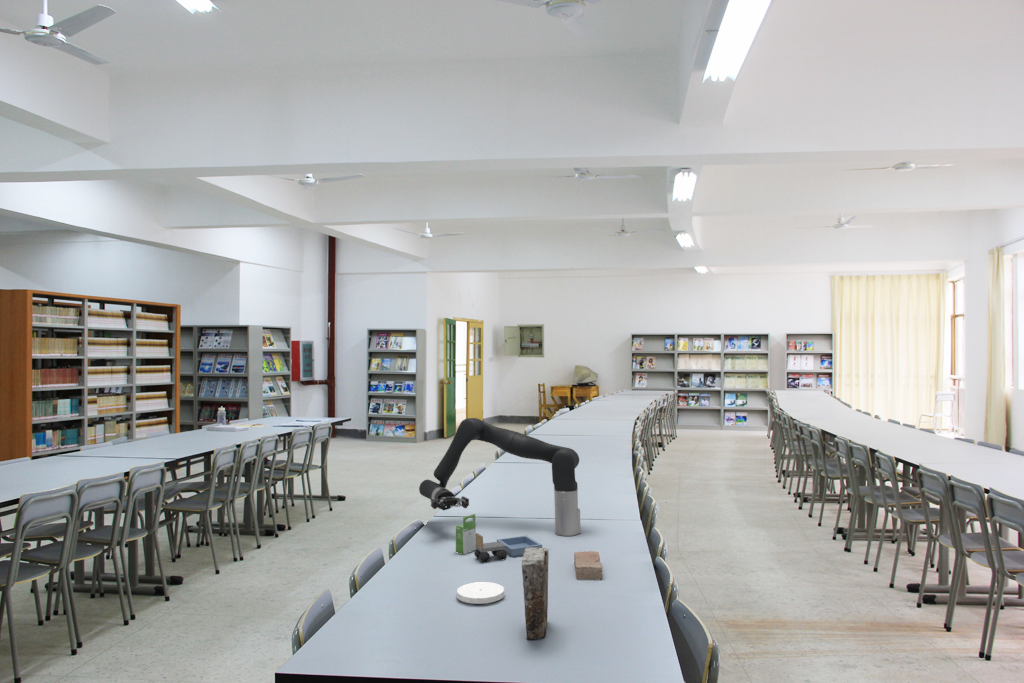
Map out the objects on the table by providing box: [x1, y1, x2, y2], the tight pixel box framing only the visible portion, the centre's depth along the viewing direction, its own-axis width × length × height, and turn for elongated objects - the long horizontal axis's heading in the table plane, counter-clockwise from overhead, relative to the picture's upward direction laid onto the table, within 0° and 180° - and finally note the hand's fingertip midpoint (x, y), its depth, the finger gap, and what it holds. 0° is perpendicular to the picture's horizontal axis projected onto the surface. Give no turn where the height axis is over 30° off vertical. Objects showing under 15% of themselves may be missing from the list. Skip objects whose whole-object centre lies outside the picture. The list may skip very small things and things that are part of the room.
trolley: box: [473, 532, 508, 563], centre depth 241 cm, size 10×6×9 cm, turn 112°
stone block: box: [521, 547, 549, 641], centre depth 179 cm, size 13×7×20 cm, turn 178°
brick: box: [573, 550, 603, 581], centre depth 226 cm, size 16×8×5 cm, turn 177°
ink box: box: [455, 513, 477, 555], centre depth 251 cm, size 7×4×13 cm, turn 141°
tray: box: [496, 535, 543, 558], centre depth 251 cm, size 12×14×3 cm
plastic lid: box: [456, 581, 505, 605], centre depth 204 cm, size 14×14×2 cm
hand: (455, 506), depth 261 cm, fingers open, 8 cm apart
